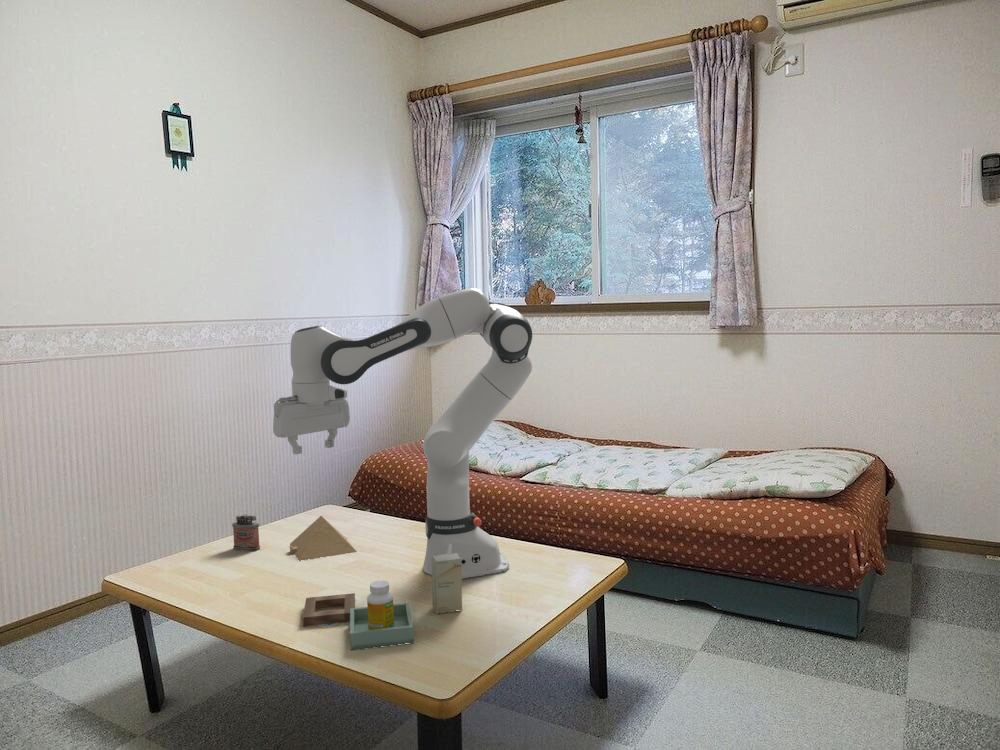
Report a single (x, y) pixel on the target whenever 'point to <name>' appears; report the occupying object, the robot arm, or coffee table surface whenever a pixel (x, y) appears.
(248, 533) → the lighter
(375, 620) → the supplement bottle
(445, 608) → the skincare box
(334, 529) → the model pyramid
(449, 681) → the coffee table surface
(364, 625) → the tray
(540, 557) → the coffee table surface
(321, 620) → the socket block
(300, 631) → the coffee table surface
